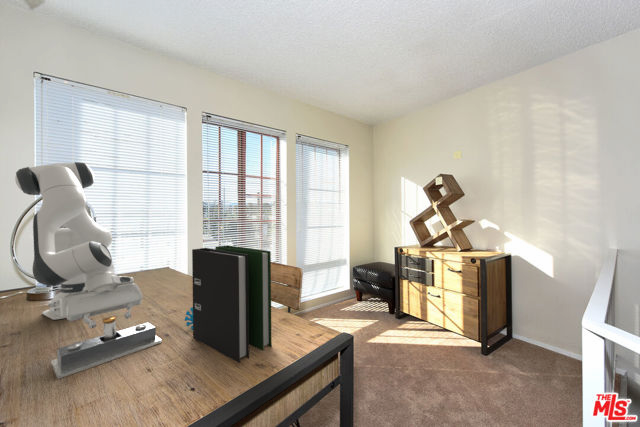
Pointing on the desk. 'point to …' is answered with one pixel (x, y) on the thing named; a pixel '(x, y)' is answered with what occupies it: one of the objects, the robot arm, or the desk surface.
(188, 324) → the gear
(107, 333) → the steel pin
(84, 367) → the grey slotted bar
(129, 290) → the robot arm
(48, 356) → the desk surface
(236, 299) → the binders
